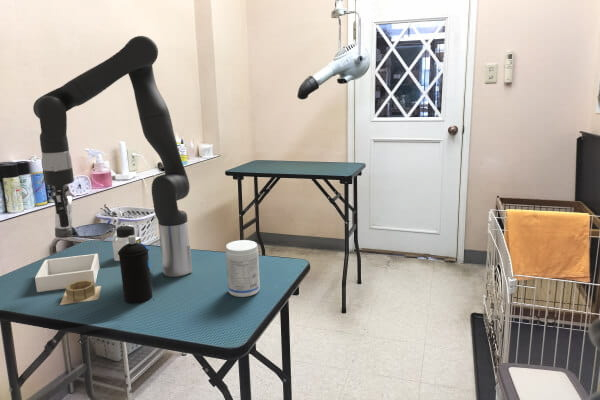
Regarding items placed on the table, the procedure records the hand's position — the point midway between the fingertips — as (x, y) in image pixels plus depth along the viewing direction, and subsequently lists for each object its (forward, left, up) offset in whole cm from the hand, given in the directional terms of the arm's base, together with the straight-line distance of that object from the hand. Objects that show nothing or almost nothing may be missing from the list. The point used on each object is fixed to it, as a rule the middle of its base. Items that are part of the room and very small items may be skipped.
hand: (65, 224), depth 142 cm
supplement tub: (-49, +19, -22) cm, 56 cm away
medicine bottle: (-15, -24, -22) cm, 36 cm away
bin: (+2, -7, -21) cm, 23 cm away
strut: (+1, 0, -3) cm, 4 cm away
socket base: (-3, +8, -21) cm, 23 cm away
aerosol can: (-19, +16, -22) cm, 32 cm away
